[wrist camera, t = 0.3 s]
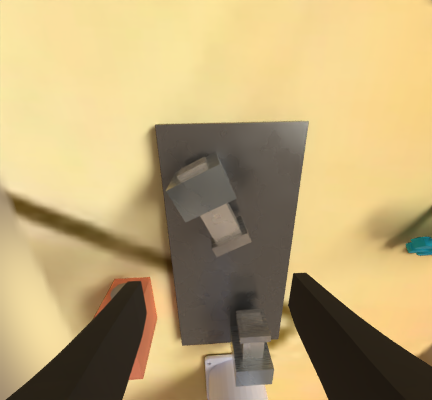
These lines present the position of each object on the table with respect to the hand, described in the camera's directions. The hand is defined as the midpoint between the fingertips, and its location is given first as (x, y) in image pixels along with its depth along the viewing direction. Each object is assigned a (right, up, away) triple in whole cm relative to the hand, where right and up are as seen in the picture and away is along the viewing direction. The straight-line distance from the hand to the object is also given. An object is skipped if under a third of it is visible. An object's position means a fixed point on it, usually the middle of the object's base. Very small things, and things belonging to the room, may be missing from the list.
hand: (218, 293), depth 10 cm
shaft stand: (+1, -1, +11) cm, 11 cm away
